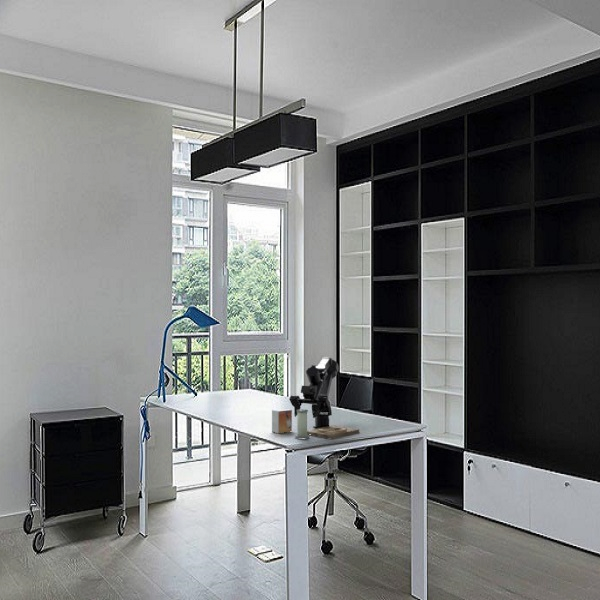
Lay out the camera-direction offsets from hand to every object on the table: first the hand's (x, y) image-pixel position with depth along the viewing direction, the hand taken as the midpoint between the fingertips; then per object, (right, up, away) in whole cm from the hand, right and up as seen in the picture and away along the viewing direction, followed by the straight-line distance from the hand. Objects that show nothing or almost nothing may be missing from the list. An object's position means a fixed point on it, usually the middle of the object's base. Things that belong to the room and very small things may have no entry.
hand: (304, 416), depth 307 cm
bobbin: (-1, -9, -2) cm, 9 cm away
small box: (-10, -10, +13) cm, 19 cm away
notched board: (+13, -9, +8) cm, 18 cm away
